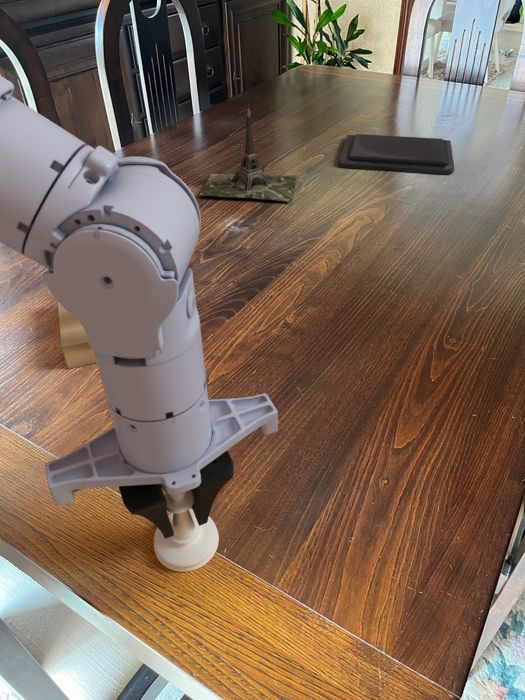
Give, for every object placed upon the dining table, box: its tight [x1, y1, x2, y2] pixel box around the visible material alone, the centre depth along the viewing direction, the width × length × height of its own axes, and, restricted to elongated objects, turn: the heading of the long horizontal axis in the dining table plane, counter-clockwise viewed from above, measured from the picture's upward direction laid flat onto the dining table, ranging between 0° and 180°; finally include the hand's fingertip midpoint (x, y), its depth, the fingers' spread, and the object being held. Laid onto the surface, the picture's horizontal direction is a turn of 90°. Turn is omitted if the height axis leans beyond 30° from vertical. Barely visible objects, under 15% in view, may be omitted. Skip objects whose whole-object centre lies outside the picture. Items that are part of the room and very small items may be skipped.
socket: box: [56, 300, 97, 370], centre depth 62 cm, size 11×11×3 cm
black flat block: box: [337, 133, 455, 176], centre depth 100 cm, size 20×2×15 cm
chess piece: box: [153, 484, 220, 573], centre depth 39 cm, size 5×5×10 cm
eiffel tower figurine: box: [199, 104, 298, 203], centre depth 87 cm, size 15×10×13 cm
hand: (182, 519), depth 40 cm, fingers closed on chess piece
